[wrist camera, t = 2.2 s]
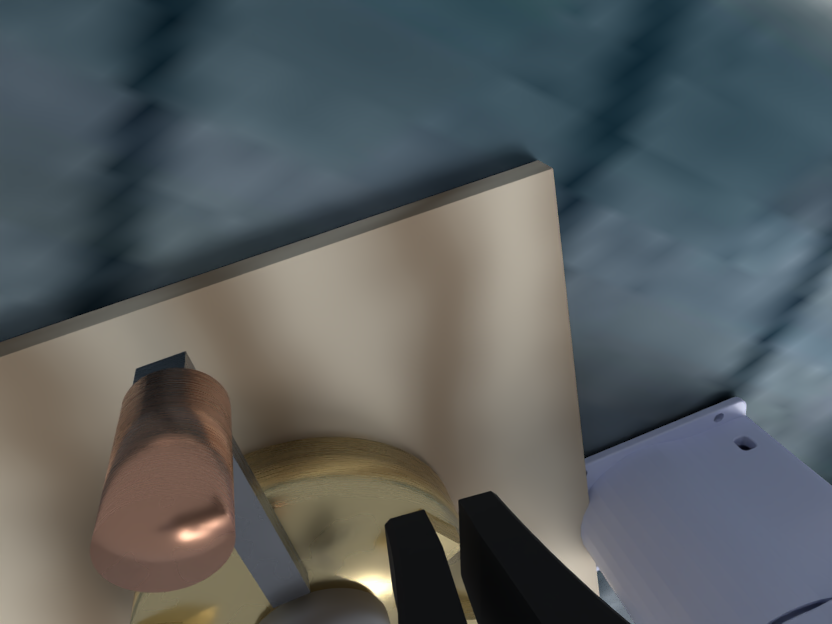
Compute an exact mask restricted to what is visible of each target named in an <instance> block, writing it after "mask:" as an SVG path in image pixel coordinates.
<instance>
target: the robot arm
mask: <svg viewBox="0 0 832 624" xmlns="http://www.w3.org/2000/svg"><path fill="white" fill-rule="evenodd" d="M745 415H746V402H745V401H744V400H742V399H741V398H740V397H733V398H730V399H728V400H725V401H723V402H720V403H718V404H716V405H713V406H711V407H708V408H706V409H703V410H701V411H699V412H696V413H694V414H691V415H689V416H687V417H684V418H682V419H679V420H677V421H674V422H672V423H670V424H667V425H665V426H662V427H660V428H657V429H655V430H653V431H650V432H648V433H645V434H643V435H640V436H638V437H636V438H633V439H631V440H628V441H626V442H623V443H621V444H619V445H616V446H614V447H611V448H609V449H607V450H604V451H602V452H599V453H597V454H594V455H592V456H590V457H587V458H585V468H586V478H587V487H588V496H589V505H588V507H587V509H586V511H585V513H584V516H583V520H582V524H581V538H582V542H583V545H584V546H585V548H586V549H587V551H588V552H589V554H590V555H591V557H592V558H593V560H594V561H595V563H596V570H597V571H598V570H600V571H601V572H602V574H603V575H604V577H605V578H606V580H607V581H608V583H609V584H610V586H611V587H612V589H613V591H614V592H615V594H616V595H617V597H618V598H619V600H620V601H621V603H622V604H623V606H624V607H625V609H626V610H627V612H628V614H629V615H630V617H631V618H632V620H633V621H634V623H635V624H832V486H831V485H830V484H829V483H828V482H826V481H825V480H824V479H823V478H822V477H820V476H819V475H818V474H817V473H815V472H814V471H813V470H812V469H811V468H809V467H808V466H807V465H806V464H804V463H803V462H802V461H801V460H800V459H798V458H797V457H796V456H795V455H793V454H792V453H791V452H790V451H789V450H787V449H786V448H785V447H784V446H782V445H781V444H780V443H779V442H778V441H776V440H775V439H774V438H773V437H772V436H770V435H769V434H768V433H767V432H765V431H764V430H763V429H762V428H761V427H759V426H758V425H757V424H756V423H754V422H753V421H752V420H751V419H750V418H748V417H747V416H745ZM458 509H459V538H460V567H461V577H462V580H463V583H464V586H465V589H466V592H467V595H468V598H469V601H470V603H471V606H472V609H473V612H474V615H475V618H476V620H477V623H478V624H630V623H629V622H628V621H627V620H625V619H624V618H623V617H622V616H621V615H620V614H618V613H617V612H616V611H615V610H614V609H612V608H611V607H610V606H609V605H608V604H607V603H606V602H605V601H603V600H602V599H601V598H600V597H599V596H598V595H597V594H595V593H594V592H593V591H592V590H591V589H590V588H589V587H588V586H587V585H586V584H585V583H584V582H582V581H581V580H580V579H579V578H578V577H577V576H576V575H575V574H574V573H573V572H572V571H571V570H570V569H568V568H567V567H566V566H565V565H564V564H563V563H562V562H561V561H560V560H559V559H558V558H557V557H556V556H555V555H554V554H553V553H552V552H551V551H550V550H549V549H548V548H547V547H546V546H545V545H544V544H543V543H542V542H541V541H540V540H539V539H538V538H537V537H536V536H535V535H534V534H533V533H532V532H531V531H530V530H529V529H528V528H527V527H526V526H525V525H524V524H523V523H522V522H521V521H520V520H519V519H518V517H517V516H516V515H515V514H514V513H513V512H512V511H511V510H510V509H509V508H508V507H507V506H506V504H505V503H504V502H503V501H502V500H501V499H500V498H499V497H498V495H497V494H495V493H494V492H492V491H488V492H484V493H481V494H477V495H473V496H470V497H466V498H463V499H459V500H458ZM384 526H385V534H386V542H387V550H388V558H389V566H390V573H391V581H392V589H393V594H394V599H395V603H396V607H397V612H398V624H467V621H466V618H465V614H464V611H463V608H462V605H461V602H460V599H459V595H458V592H457V589H456V586H455V583H454V580H453V577H452V574H451V570H450V567H449V564H448V561H447V558H446V555H445V552H444V549H443V546H442V544H441V542H440V540H439V538H438V535H437V533H436V531H435V529H434V527H433V525H432V523H431V521H430V520H429V518H428V516H427V514H426V512H425V510H424V509H423V510H419V511H415V512H412V513H408V514H405V515H401V516H397V517H394V518H390V519H389V520H388V521H387V523H386V524H385V525H384Z"/></svg>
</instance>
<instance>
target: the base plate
mask: <svg viewBox="0 0 832 624" xmlns="http://www.w3.org/2000/svg"><path fill="white" fill-rule="evenodd" d="M184 351H186V352H187V354H188V356H189V358H190V359H191V361H192V363H193V365H194V367H195V369H196V370H198V371H201V372H203V373H206V374H208V375H210V376H211V377H213V378H214V379H216V380H217V381H218V382H219V383H220V384H221V385H222V386H223V387H224V388H225V390H226V391H227V393H228V396H229V398H230V402H231V421H232V436H233V437H234V439H235V441H236V443H237V445H238V446H239V448H240V450H241V452H242V454H243V455H246V454H248V453H251V452H254V451H257V450H260V449H263V448H266V447H269V446H272V445H276V444H281V443H285V442H290V441H294V440H301V439H309V438H317V437H349V438H360V439H367V440H372V441H376V442H381V443H385V444H387V445H390V446H393V447H396V448H399V449H401V450H403V451H405V452H407V453H409V454H411V455H413V456H415V457H417V458H418V459H419V460H421V461H422V462H423V463H425V464H426V465H427V466H429V467H430V468H431V469H432V470H433V472H434V473H435V474H436V475H437V476H438V477H439V478H440V480H441V481H442V483H443V484H444V486H445V487H446V489H447V491H448V493H449V495H450V498H451V500H452V502H453V504H454V506H455V509H456V511H457V513H458V515H459V509H458V500H459V499H463V498H466V497H470V496H473V495H477V494H481V493H484V492H488V491H492V492H494V493H495V494H497V495H498V497H499V498H500V499H501V500H502V501H503V502H504V503H505V504H506V506H507V507H508V508H509V509H510V510H511V511H512V512H513V513H514V514H515V515H516V516H517V517H518V519H519V520H520V521H521V522H522V523H523V524H524V525H525V526H526V527H527V528H528V529H529V530H530V531H531V532H532V533H533V534H534V535H535V536H536V537H537V538H538V539H539V540H540V541H541V542H542V543H543V544H544V545H545V546H546V547H547V548H548V549H549V550H550V551H551V552H552V553H553V554H554V555H555V556H556V557H557V558H558V559H559V560H560V561H561V562H562V563H563V564H564V565H565V566H566V567H567V568H568V569H570V570H571V571H572V572H573V573H574V574H575V575H576V576H577V577H578V578H579V579H580V580H581V581H582V582H584V583H585V584H586V585H587V586H588V587H589V588H590V589H591V590H592V591H593V592H594V593H595V594H597V595H598V596H599V588H598V579H597V570H596V563H595V561H594V560H593V558H592V557H591V555H590V554H589V552H588V551H587V549H586V548H585V546H584V545H583V542H582V538H581V524H582V520H583V516H584V513H585V511H586V509H587V507H588V505H589V496H588V487H587V478H586V468H585V459H584V450H583V441H582V432H581V422H580V413H579V404H578V395H577V386H576V376H575V367H574V358H573V349H572V340H571V330H570V321H569V312H568V303H567V294H566V284H565V275H564V266H563V257H562V248H561V238H560V229H559V220H558V211H557V202H556V192H555V183H554V174H553V168H551V167H549V166H548V165H546V164H544V163H542V162H540V161H539V160H537V161H534V162H532V163H529V164H526V165H523V166H520V167H517V168H514V169H511V170H508V171H505V172H502V173H499V174H496V175H493V176H490V177H487V178H484V179H481V180H478V181H475V182H472V183H469V184H466V185H464V186H461V187H458V188H455V189H452V190H449V191H446V192H443V193H440V194H437V195H434V196H431V197H428V198H425V199H422V200H419V201H416V202H413V203H410V204H407V205H404V206H401V207H399V208H396V209H393V210H390V211H387V212H384V213H381V214H378V215H375V216H372V217H369V218H366V219H363V220H360V221H357V222H354V223H351V224H348V225H345V226H342V227H339V228H336V229H334V230H331V231H328V232H325V233H322V234H319V235H316V236H313V237H310V238H307V239H304V240H301V241H298V242H295V243H292V244H289V245H286V246H283V247H280V248H277V249H274V250H271V251H269V252H266V253H263V254H260V255H257V256H254V257H251V258H248V259H245V260H242V261H239V262H236V263H233V264H230V265H227V266H224V267H221V268H218V269H215V270H212V271H209V272H206V273H204V274H201V275H198V276H195V277H192V278H189V279H186V280H183V281H180V282H177V283H174V284H171V285H168V286H165V287H162V288H159V289H156V290H153V291H150V292H147V293H144V294H141V295H139V296H136V297H133V298H130V299H127V300H124V301H121V302H118V303H115V304H112V305H109V306H106V307H103V308H100V309H97V310H94V311H91V312H88V313H85V314H82V315H79V316H76V317H74V318H71V319H68V320H65V321H62V322H59V323H56V324H53V325H50V326H47V327H44V328H41V329H38V330H35V331H32V332H29V333H26V334H23V335H20V336H17V337H14V338H11V339H8V340H6V341H3V342H0V624H130V620H131V613H132V605H133V598H134V591H131V590H128V589H124V588H121V587H119V586H116V585H114V584H112V583H110V582H109V581H107V580H106V579H105V578H103V577H102V576H101V575H100V574H99V573H98V572H97V570H96V569H95V567H94V565H93V563H92V561H91V557H90V545H91V540H92V536H93V531H94V527H95V522H96V518H97V513H98V509H99V504H100V500H101V495H102V491H103V486H104V482H105V477H106V473H107V468H108V464H109V459H110V455H111V451H112V446H113V442H114V437H115V433H116V428H117V424H118V419H119V415H120V410H121V406H122V402H123V399H124V396H125V395H126V393H127V391H128V390H129V389H130V387H131V386H132V385H133V381H134V376H135V371H136V368H139V367H142V366H145V365H147V364H150V363H153V362H156V361H159V360H162V359H164V358H167V357H170V356H173V355H176V354H178V353H181V352H184ZM259 624H390V620H389V616H388V613H387V610H386V607H385V606H384V604H383V603H382V602H381V601H380V600H379V599H378V598H377V597H375V596H374V595H372V594H370V593H368V592H365V591H362V590H357V589H351V588H331V589H324V590H318V591H314V592H311V593H309V594H306V595H304V596H302V597H299V598H297V599H294V600H292V601H290V602H287V603H285V604H282V605H281V606H279V607H277V608H276V609H275V610H273V611H272V612H270V613H269V614H268V615H267V616H266V617H265V618H263V620H262V621H261V622H260V623H259Z"/></svg>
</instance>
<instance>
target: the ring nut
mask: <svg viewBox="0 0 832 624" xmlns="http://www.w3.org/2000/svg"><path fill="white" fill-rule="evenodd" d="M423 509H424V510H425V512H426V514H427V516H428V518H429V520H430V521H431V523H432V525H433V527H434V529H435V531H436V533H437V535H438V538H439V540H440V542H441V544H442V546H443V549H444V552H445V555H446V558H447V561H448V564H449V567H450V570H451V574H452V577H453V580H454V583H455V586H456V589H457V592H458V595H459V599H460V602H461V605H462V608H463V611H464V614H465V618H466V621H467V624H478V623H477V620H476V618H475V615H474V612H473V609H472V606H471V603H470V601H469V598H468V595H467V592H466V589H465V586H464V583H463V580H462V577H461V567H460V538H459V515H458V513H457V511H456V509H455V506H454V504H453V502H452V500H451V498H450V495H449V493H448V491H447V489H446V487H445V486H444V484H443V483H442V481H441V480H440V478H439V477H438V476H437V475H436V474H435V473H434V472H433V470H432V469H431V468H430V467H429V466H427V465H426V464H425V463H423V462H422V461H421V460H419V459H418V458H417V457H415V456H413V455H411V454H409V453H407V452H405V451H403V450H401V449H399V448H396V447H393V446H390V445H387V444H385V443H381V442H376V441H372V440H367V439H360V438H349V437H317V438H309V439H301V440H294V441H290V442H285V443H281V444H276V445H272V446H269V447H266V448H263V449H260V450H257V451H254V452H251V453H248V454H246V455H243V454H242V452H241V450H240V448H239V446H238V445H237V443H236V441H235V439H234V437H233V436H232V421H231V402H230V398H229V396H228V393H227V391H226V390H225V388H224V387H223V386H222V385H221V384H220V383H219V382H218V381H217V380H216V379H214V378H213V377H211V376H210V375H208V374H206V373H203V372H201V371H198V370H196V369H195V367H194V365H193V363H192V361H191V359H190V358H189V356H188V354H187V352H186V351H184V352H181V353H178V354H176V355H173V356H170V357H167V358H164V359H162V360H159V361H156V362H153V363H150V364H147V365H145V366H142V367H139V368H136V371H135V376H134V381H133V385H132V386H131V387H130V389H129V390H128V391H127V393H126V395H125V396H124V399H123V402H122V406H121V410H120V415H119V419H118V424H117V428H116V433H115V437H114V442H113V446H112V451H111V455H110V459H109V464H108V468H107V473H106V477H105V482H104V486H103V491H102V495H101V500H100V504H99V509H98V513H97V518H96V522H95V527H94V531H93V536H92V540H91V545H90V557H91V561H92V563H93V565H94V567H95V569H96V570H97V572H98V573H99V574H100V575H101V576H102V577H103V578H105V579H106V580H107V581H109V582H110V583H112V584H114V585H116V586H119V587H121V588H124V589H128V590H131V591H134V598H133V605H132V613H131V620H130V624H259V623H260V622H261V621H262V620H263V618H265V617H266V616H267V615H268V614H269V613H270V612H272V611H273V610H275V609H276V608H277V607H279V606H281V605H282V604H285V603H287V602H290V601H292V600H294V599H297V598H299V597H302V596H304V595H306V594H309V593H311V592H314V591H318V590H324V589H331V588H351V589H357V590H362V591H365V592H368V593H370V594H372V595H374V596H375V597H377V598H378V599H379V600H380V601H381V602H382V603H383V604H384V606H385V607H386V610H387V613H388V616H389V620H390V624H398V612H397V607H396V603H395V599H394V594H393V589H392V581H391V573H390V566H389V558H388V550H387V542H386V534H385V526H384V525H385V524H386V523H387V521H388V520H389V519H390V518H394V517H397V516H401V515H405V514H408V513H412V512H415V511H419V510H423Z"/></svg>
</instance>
